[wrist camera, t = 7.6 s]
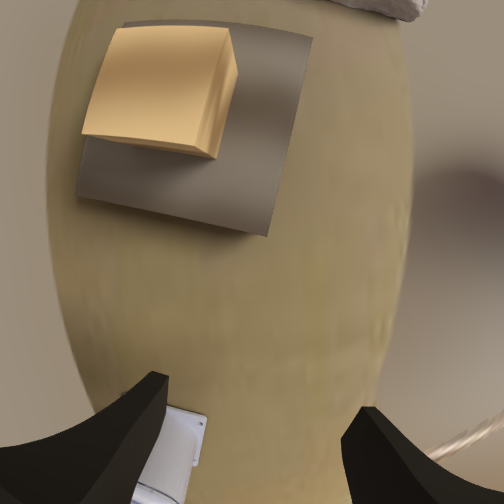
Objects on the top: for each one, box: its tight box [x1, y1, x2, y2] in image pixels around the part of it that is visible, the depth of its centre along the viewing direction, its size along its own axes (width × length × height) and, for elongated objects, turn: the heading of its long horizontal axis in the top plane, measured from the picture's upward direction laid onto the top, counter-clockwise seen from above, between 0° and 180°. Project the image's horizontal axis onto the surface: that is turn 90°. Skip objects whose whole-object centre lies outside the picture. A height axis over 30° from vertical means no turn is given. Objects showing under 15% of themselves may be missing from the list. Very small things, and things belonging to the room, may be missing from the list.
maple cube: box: [82, 26, 238, 159], centre depth 11 cm, size 5×5×5 cm
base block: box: [75, 20, 313, 237], centre depth 15 cm, size 12×12×3 cm
